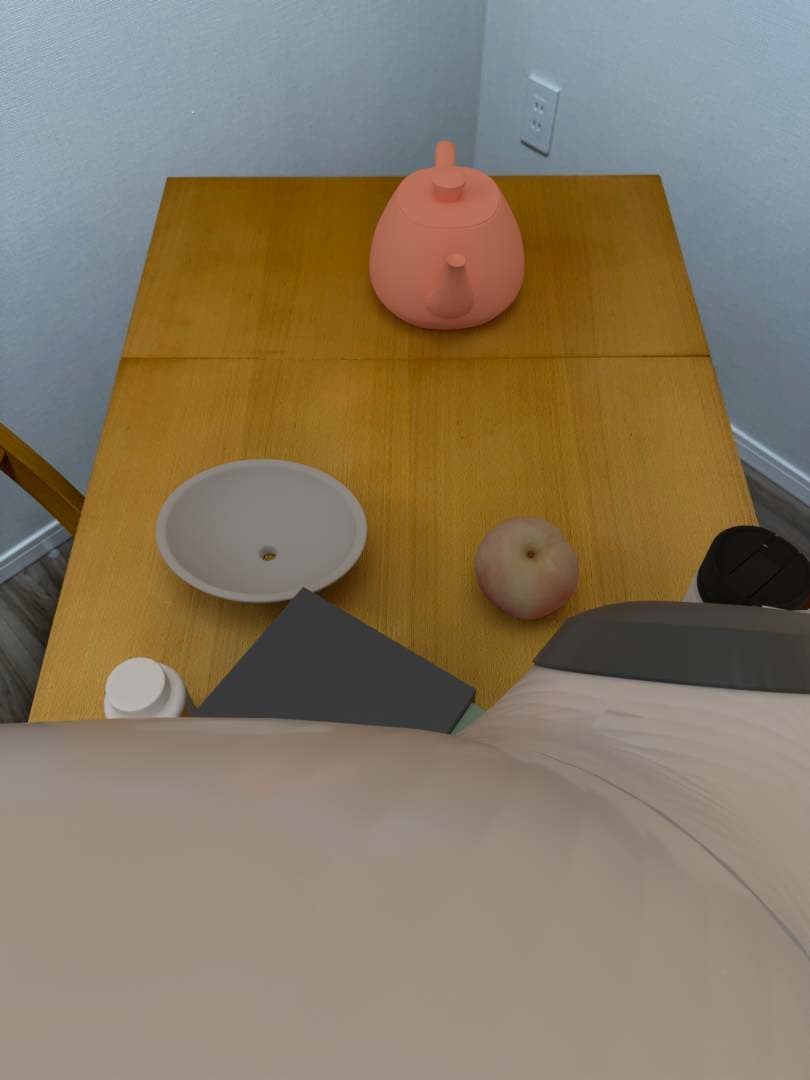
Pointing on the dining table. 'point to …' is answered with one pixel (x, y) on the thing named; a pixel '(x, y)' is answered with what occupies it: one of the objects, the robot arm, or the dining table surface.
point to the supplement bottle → (146, 691)
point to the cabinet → (336, 675)
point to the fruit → (526, 567)
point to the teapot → (447, 248)
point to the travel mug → (751, 571)
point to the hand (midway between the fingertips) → (545, 856)
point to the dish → (261, 530)
